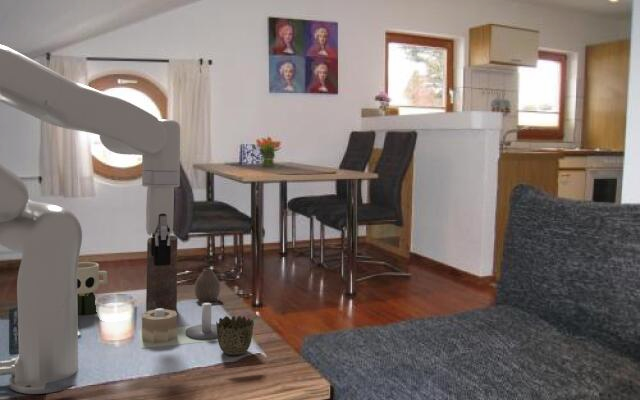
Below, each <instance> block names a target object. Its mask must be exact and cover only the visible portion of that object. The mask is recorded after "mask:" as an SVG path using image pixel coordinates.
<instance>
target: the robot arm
mask: <svg viewBox="0 0 640 400" xmlns="http://www.w3.org/2000/svg"><path fill="white" fill-rule="evenodd" d="M0 103H1V104H4V105H7V106H8V107H10V108H14V109H16V110H19V111H20V112H22V113H24V114H26V115H27V114H28V115H29V116H32V117H34V118H36V119H38V120H41V121H43V122H44V123H47V124H49V125H51V126H52V125H53V126H55V127H59V128H63V129H67V130H71V131H78V132H84V133H85V132H86V133H91V134H94V135H99V139H100V142H101V143H102V146H104V147H105V149H107V150H108V151H110V152H112V153H115V154H118V155H128V156H129V155H133V156H134V155H136V156H138V155H139V156H141V159H142V160H141V161H142V162H141V167H142V168H141V169H142V171H141V172H142V173H141V185H142V187H145V188H146V187H147V188H146V201H145V202H146V204H145V205H146V209H145V210H146V213H145V214H146V215H145V217H146V219H145V231H146V233H147V235H148V236H151V237H155V238H151V237H150V238H151V255H152V256H154V265H155V266H162V265H170V263H171V245H170V236H169V235H172V234H173V231H174V230H173V228H174V212H175V210H174V209H175V208H174V207H175V204H174V203H175V188H178V187H180V186H181V185H180V183H181V181H180V180H181V179H180V178H181V177H180V176H181V175H180V174H181V168H180V167H181V126H180V124H179V122H178V121H176V120H173V119H165V118H164V119H163V118H162V119H161V118H157V117H156V116H155V115H153V114H152V113H150V112H148V111H146V110H144V109H143V108H140V107H139V106H137V105H135V104H133V103H131V102H129V101H127V100H125V99H122V98H119V97H118V96H114V95H111V94H108V93H106V92H103V91H100V90H98V89H95V88H92V87H90V86H87V85H84V84H82V83H79V82H76V81H74V80H72V79H70V78H68V77H66V76H64V75H63V74H60V73H58V72H56V71H55V70H53V69H51V68H48V67H47V66H46V65H45V66H44V65H43V64H41V63H39V62H37V61H35V60H34V59H32V58H29V57H28V56H26V55H24V54H22V53H20V52H18V51H16V50H14V49H12V48H10V47H8V46H5V45H3V44H0ZM29 196H30V195H29V190H28V187H27V186H26V184H25V182H24V181H23V180H22V179H21V177H20V176H18V175H17V174H16V173H15V172H13V171H12V170H11V169H9V168H8V167H6V166H5V165H4V164H2V163H0V245H1V246H2V247H4V248H6V249H8V250H11V251H13V252H17V253H20V254H22V256H21V262H20V265H19V268H18V273H17V274H18V275H17V279H16V281H17V282H16V291H17V292H16V295H17V298H16V299H17V328H18V329H17V330H18V331H17V332H18V355H17V357H12V358H11V360H10V359H8V360H0V377H1V376H5V375H6V376H7V375H10V376H9V381H8V383H9V384H8V386H9V388H10V389H11V390H13V391H15V392H17V393H20V394H27V395H41V394H51V393H56V392H61V391H64V390H68V389H70V388H74V387H75V386H76V384H71V385H70V384H69V385H64V386H63V385H61V386H52V387H46V386H47V383H53V382H58V381H63V380H65V379H67V378H69V377H72V376H73V375H75V374H76V373H78V370H79V333H78V332H79V331H78V330H79V329H78V328H79V325H78V324H79V319H78V317H79V316H78V302H77V269H78V262H79V260H80V259H79V258H80V252H81V246H82V242H83V241H82V240H83V231H82V225H81V223H80V221H79V219H78V217H76V214H74V213H73V212H71V210H69V209H67V208H65V207H63V206H60V205H56V204H52V203H47V202H40V201H39V202H38V201H33V200H32V199H30V198H29Z"/></svg>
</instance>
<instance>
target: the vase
mask: <svg viewBox="0 0 640 400" xmlns="http://www.w3.org/2000/svg"><path fill="white" fill-rule="evenodd" d="M220 293H221V283H220V280H219V278H218V277H217V275H216V274H215V272H214V270H213V269H211V268H204V269H202V272H201V274H200V275H199V276H198V277H197V278H196V280H195V284H194V294H195V297H196V299H197V300H198V301H199V302H200V303H202V304H203V303H210V302H211V303H214V302H215V301H217V299H218V298H219V296H220Z"/></svg>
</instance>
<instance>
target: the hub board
mask: <svg viewBox="0 0 640 400" xmlns="http://www.w3.org/2000/svg"><path fill="white" fill-rule="evenodd" d="M201 306H202V307H201V324H196V325H187V326H177V338H175V339H173V340H171V341H169V342H162V343H150V342H145V341H143V340H142V329H139V330H138V335H139V344H140V348H141V349H147V348H157V347H166V346H167V347H168V346H178V345H187V344H189V345H190V344H199V343H209V342H218V335H217V325H216V323H212V302H211V303H203V302H202V303H201ZM155 317H164V309H163V308H158V309H155Z"/></svg>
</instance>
